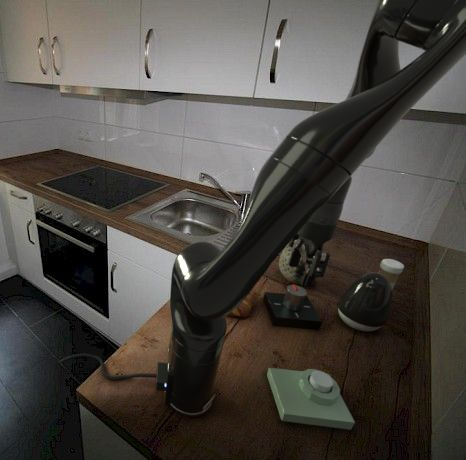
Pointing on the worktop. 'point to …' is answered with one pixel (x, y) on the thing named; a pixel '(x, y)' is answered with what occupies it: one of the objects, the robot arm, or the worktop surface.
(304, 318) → the lock panel
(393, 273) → the sprinkles bottle
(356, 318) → the black rounded dome
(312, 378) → the push button
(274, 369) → the push button base
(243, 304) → the croissant
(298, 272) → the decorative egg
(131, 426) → the worktop surface
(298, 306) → the lock dial
